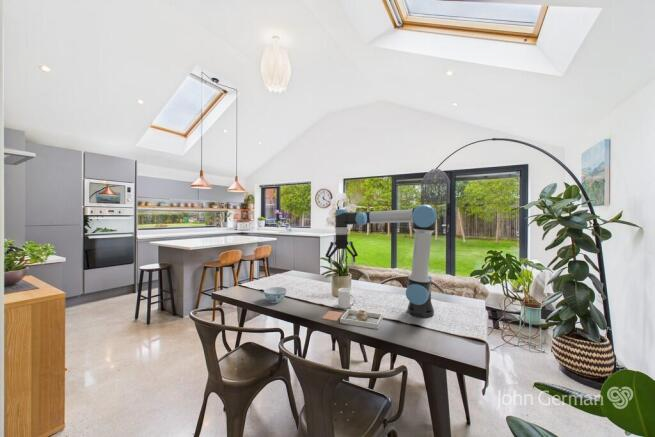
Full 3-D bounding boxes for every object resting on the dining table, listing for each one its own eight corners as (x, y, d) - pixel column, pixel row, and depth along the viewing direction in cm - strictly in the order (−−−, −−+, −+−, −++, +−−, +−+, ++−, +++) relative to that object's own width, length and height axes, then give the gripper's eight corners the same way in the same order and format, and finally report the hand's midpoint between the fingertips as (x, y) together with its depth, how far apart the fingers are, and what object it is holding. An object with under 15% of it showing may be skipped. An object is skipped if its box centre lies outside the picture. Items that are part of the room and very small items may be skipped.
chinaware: (276, 307, 173) (276, 295, 173) (259, 302, 181) (259, 291, 181) (291, 300, 186) (291, 289, 186) (274, 296, 194) (274, 285, 194)
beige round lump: (367, 319, 154) (367, 310, 154) (365, 323, 149) (365, 313, 149) (358, 318, 156) (358, 309, 156) (356, 321, 151) (356, 312, 151)
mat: (343, 313, 163) (343, 312, 163) (336, 321, 152) (336, 320, 152) (329, 311, 166) (329, 310, 166) (321, 318, 155) (321, 318, 155)
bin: (382, 318, 156) (382, 313, 156) (377, 328, 142) (377, 324, 142) (348, 313, 163) (348, 309, 163) (340, 322, 149) (340, 318, 149)
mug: (350, 311, 166) (350, 293, 166) (335, 306, 174) (335, 290, 174) (358, 307, 173) (358, 290, 172) (343, 303, 181) (343, 287, 180)
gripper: (359, 232, 175) (359, 265, 176) (320, 233, 171) (321, 267, 172) (362, 234, 168) (362, 268, 169) (322, 235, 164) (322, 270, 165)
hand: (341, 267), depth 170 cm, fingers open, 13 cm apart
